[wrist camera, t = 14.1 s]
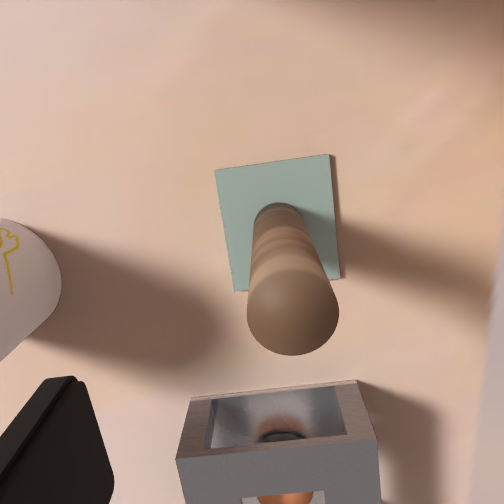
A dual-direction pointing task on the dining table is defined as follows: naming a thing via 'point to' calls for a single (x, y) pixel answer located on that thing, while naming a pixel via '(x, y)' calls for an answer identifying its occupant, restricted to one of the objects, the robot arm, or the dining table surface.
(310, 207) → the mat
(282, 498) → the breaker plunger
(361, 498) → the guard cage
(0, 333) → the cup
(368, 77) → the dining table surface
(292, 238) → the brown wooden rod
